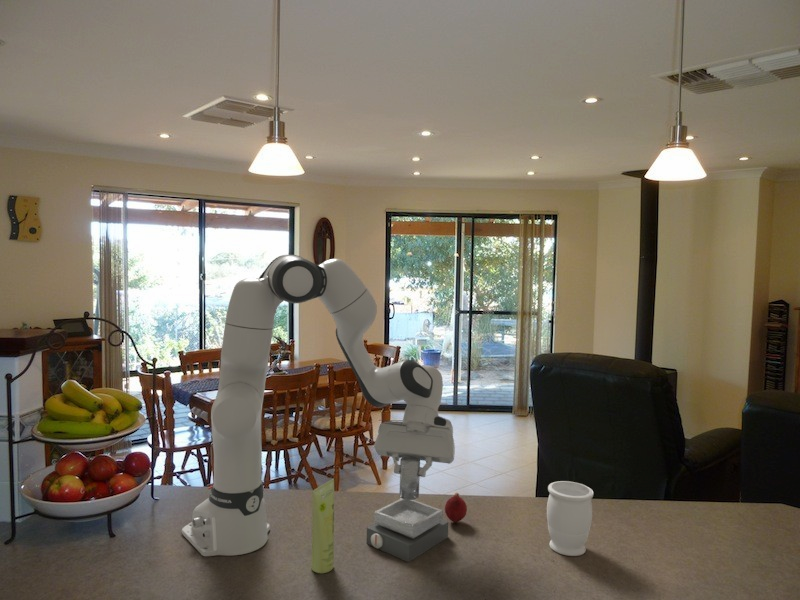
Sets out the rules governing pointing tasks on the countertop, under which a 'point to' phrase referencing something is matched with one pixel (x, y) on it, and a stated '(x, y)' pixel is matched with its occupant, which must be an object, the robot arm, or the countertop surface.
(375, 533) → the scale
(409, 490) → the grey cylinder
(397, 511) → the pan
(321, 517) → the tube
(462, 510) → the onion
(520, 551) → the countertop surface
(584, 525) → the jar
